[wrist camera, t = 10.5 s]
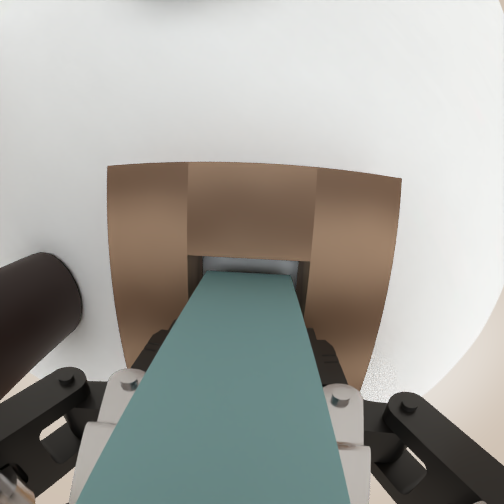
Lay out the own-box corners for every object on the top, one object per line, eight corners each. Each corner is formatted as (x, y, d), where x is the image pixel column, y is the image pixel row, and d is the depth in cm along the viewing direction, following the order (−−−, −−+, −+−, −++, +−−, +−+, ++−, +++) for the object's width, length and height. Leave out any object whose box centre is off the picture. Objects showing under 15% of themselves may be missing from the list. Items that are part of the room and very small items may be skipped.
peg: (207, 270, 13) (70, 515, 2) (290, 275, 13) (360, 550, 2) (208, 341, 14) (139, 561, 3) (283, 345, 14) (303, 578, 3)
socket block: (136, 168, 15) (107, 165, 12) (374, 178, 15) (401, 178, 11) (151, 368, 18) (134, 397, 15) (340, 379, 18) (352, 411, 15)
